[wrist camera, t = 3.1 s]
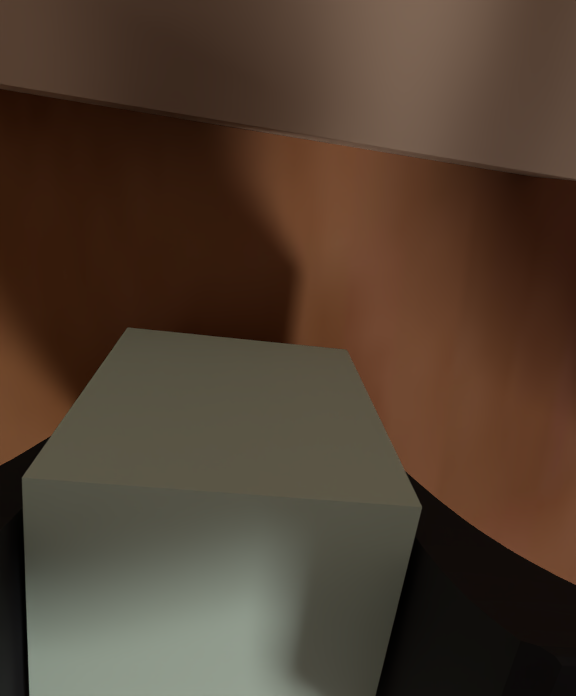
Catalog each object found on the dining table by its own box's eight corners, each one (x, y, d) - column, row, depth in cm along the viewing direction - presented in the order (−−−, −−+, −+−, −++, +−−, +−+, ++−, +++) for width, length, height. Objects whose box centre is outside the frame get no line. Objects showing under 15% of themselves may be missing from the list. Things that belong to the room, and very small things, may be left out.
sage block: (346, 349, 13) (422, 507, 7) (315, 528, 14) (356, 770, 9) (127, 327, 12) (21, 477, 7) (121, 514, 14) (31, 763, 8)
